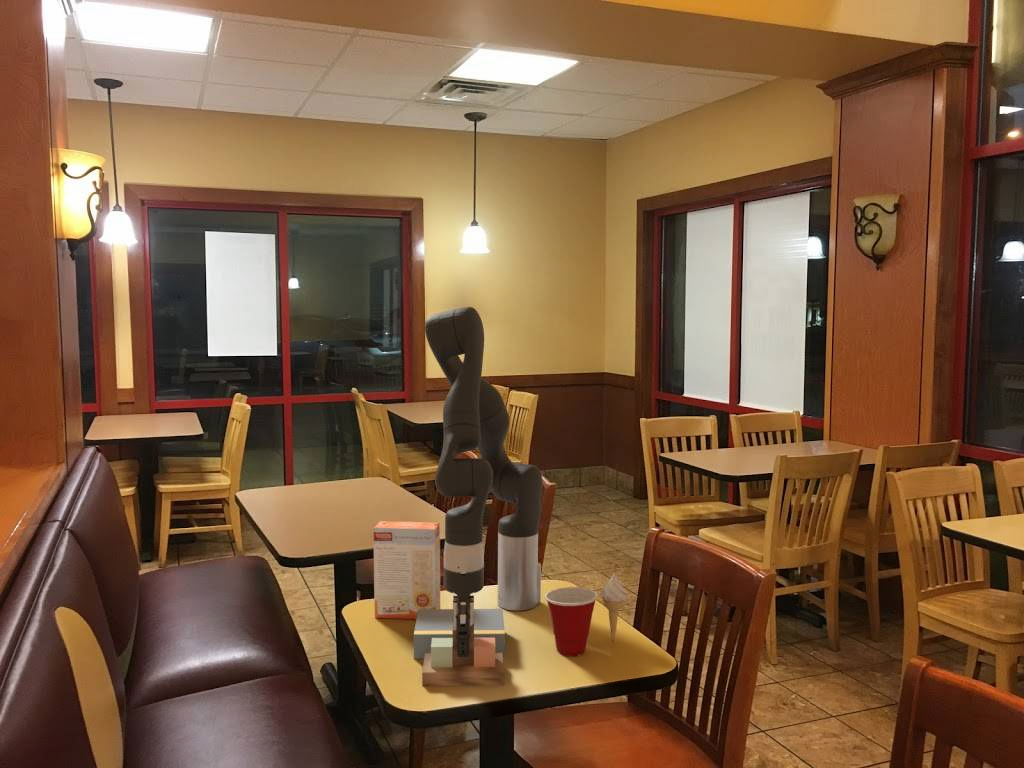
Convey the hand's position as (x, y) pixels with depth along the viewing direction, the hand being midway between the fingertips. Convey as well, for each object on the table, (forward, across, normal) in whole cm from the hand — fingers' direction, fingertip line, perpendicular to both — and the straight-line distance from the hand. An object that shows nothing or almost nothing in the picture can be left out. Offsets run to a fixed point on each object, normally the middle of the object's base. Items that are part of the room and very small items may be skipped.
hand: (463, 651), depth 158 cm
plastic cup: (+5, -11, +22) cm, 25 cm away
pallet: (+5, 0, 0) cm, 5 cm away
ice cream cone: (+5, -15, +31) cm, 35 cm away
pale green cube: (+2, 0, -4) cm, 5 cm away
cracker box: (+5, -30, -13) cm, 33 cm away
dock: (+5, -14, -1) cm, 15 cm away
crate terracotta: (+2, 0, +4) cm, 5 cm away
